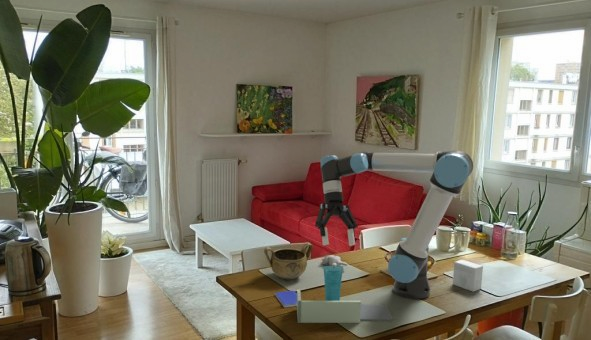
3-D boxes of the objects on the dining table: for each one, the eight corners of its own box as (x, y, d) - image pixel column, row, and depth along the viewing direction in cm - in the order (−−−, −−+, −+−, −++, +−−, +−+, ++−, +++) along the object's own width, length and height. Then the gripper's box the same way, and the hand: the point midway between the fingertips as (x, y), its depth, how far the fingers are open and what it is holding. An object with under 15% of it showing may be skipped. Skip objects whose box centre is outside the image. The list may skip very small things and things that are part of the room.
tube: (340, 311, 181) (341, 263, 178) (343, 316, 177) (344, 267, 174) (321, 312, 180) (322, 264, 177) (323, 318, 175) (325, 268, 172)
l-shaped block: (355, 309, 183) (356, 289, 182) (360, 322, 172) (360, 302, 171) (296, 308, 183) (297, 289, 181) (297, 322, 172) (298, 302, 170)
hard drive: (304, 302, 186) (293, 290, 198) (284, 305, 184) (275, 292, 195) (304, 306, 187) (293, 293, 198) (284, 308, 184) (275, 296, 195)
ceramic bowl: (304, 268, 226) (305, 237, 224) (318, 281, 210) (319, 248, 208) (259, 273, 219) (260, 242, 216) (270, 287, 203) (270, 253, 201)
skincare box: (481, 288, 205) (483, 265, 203) (473, 292, 201) (475, 268, 199) (460, 281, 213) (462, 258, 211) (452, 284, 209) (453, 261, 207)
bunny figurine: (336, 252, 237) (349, 258, 223) (336, 262, 237) (349, 269, 223) (318, 254, 234) (330, 261, 220) (319, 264, 234) (331, 271, 220)
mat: (385, 306, 186) (385, 304, 186) (392, 320, 174) (392, 319, 174) (355, 306, 186) (355, 304, 186) (360, 320, 174) (360, 319, 174)
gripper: (349, 197, 202) (356, 247, 195) (302, 193, 188) (308, 246, 181) (361, 193, 196) (369, 243, 190) (314, 188, 182) (320, 242, 176)
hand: (339, 245), depth 185 cm, fingers open, 13 cm apart
